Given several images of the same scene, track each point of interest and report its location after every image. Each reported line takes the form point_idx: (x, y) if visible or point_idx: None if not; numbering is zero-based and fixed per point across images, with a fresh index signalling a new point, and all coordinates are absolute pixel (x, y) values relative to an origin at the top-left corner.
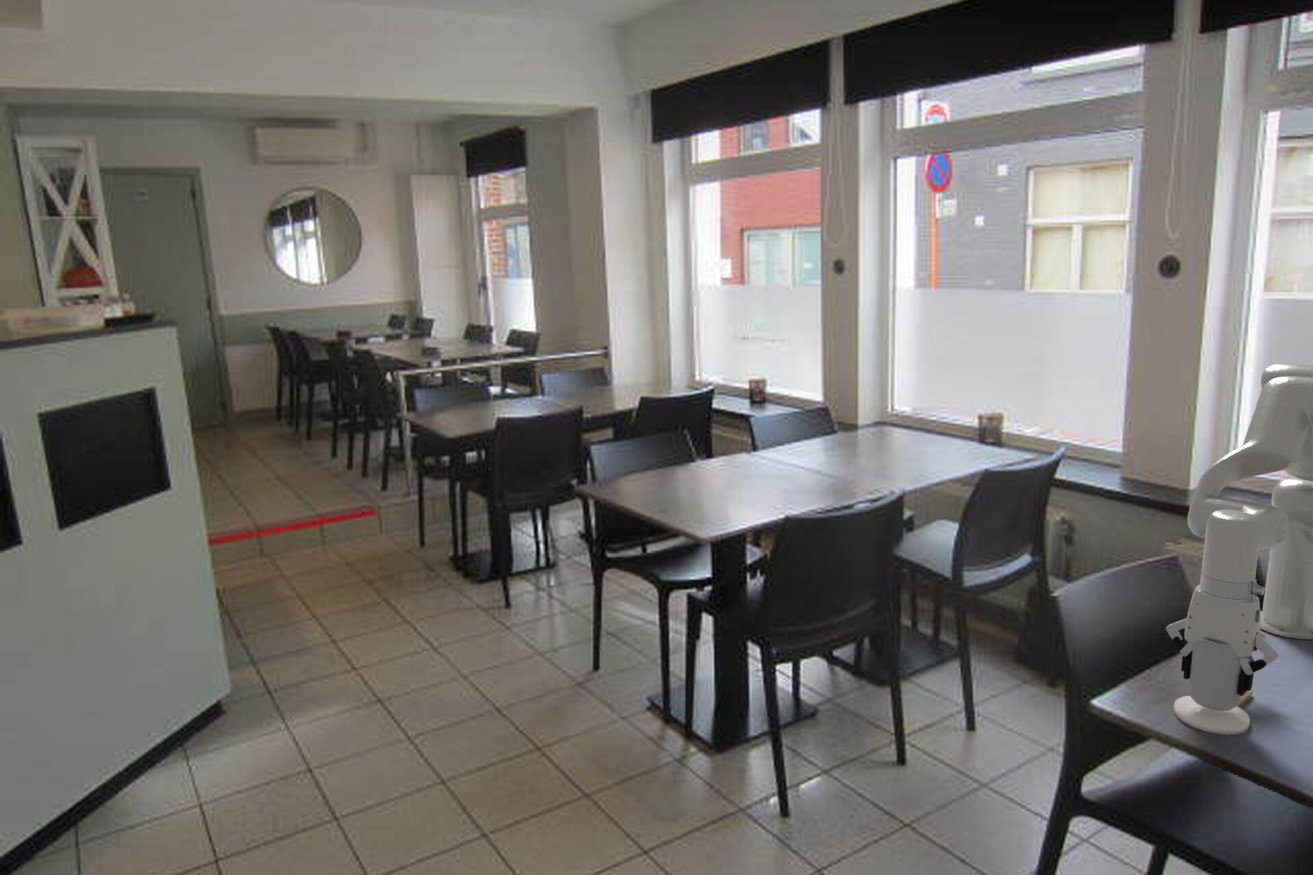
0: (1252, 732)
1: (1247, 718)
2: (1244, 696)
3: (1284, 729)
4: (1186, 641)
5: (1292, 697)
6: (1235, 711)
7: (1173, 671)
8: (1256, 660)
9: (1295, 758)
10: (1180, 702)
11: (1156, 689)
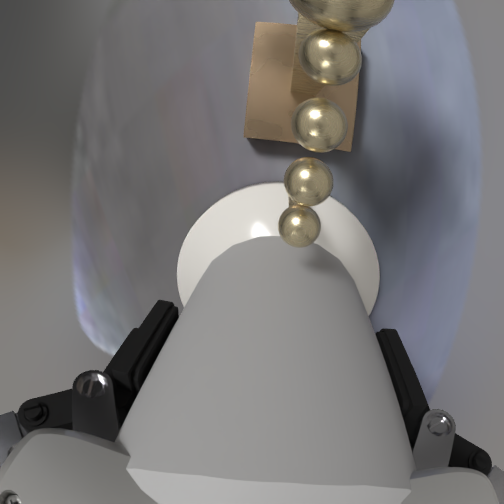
0: (380, 297)
1: (373, 275)
2: (350, 97)
3: (448, 230)
4: (67, 424)
5: (439, 10)
6: (341, 249)
7: (120, 33)
8: (452, 465)
9: (442, 349)
10: (191, 284)
11: (113, 190)
